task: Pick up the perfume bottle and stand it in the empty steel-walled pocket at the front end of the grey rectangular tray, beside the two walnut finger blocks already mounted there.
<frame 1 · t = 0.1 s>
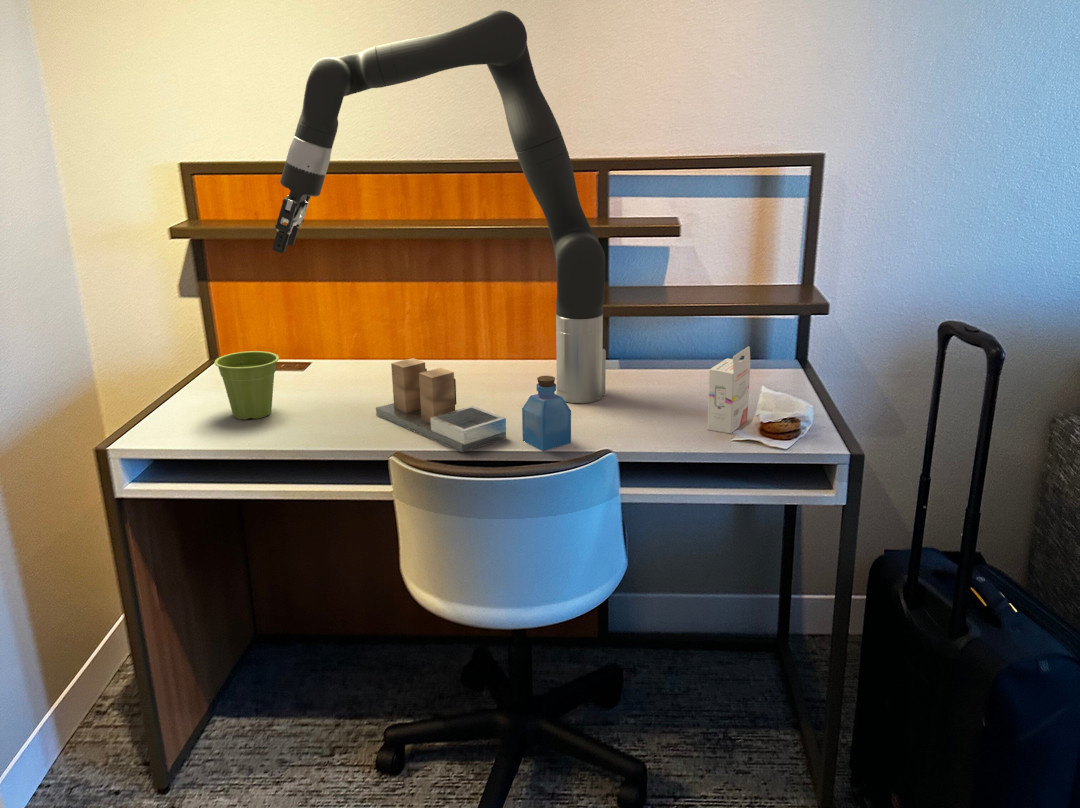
hand: (283, 247, 181), 31 cm above the table, tool tilted 20°, fingers open, 8 cm apart
plant pot: (253, 415, 186), on the table
walnut finger front: (438, 418, 177), resting on grey rectangular tray
ink cartridge box: (726, 426, 177), on the table
grey rectangular tray: (439, 426, 178), on the table
walnut finger rear: (410, 407, 184), resting on grey rectangular tray
perfume bottle: (546, 443, 170), on the table
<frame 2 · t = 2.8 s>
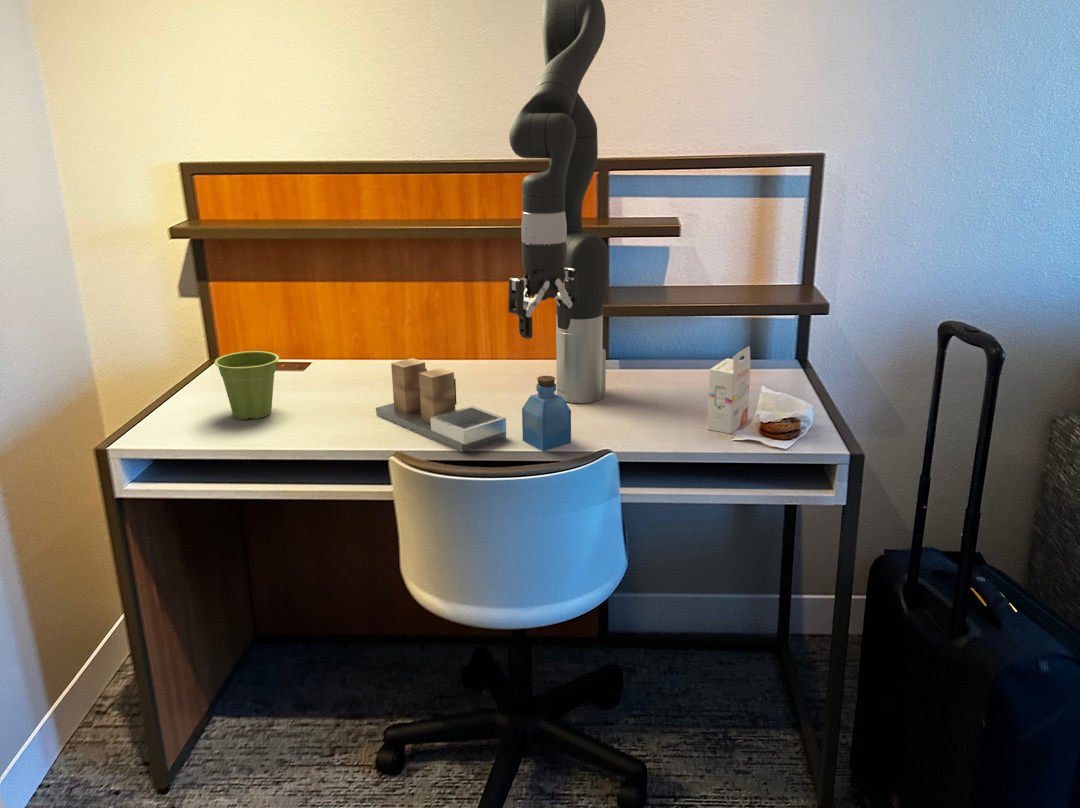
hand: (545, 333, 163), 20 cm above the table, tool pointing down, fingers open, 8 cm apart
nothing on the table moved.
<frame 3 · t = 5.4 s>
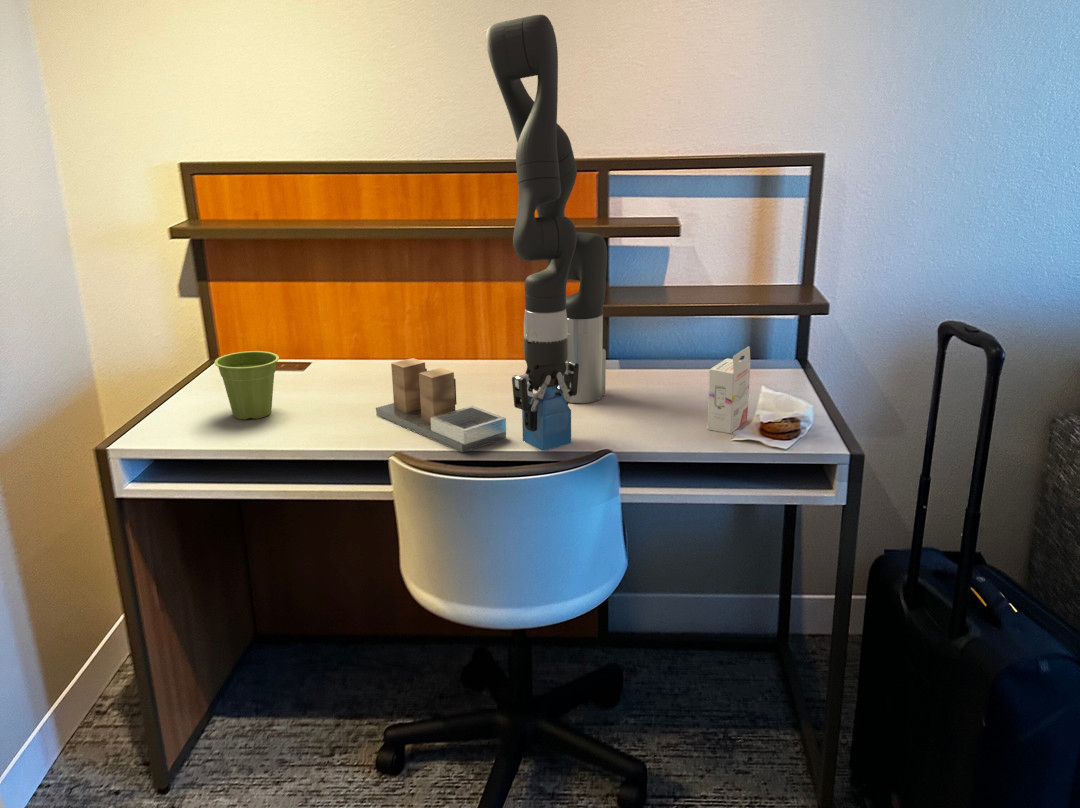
hand: (546, 425, 169), 3 cm above the table, tool pointing down, fingers closed on perfume bottle, 6 cm apart
perfume bottle: (546, 443, 170), on the table, touching gripper
everything else where it was.
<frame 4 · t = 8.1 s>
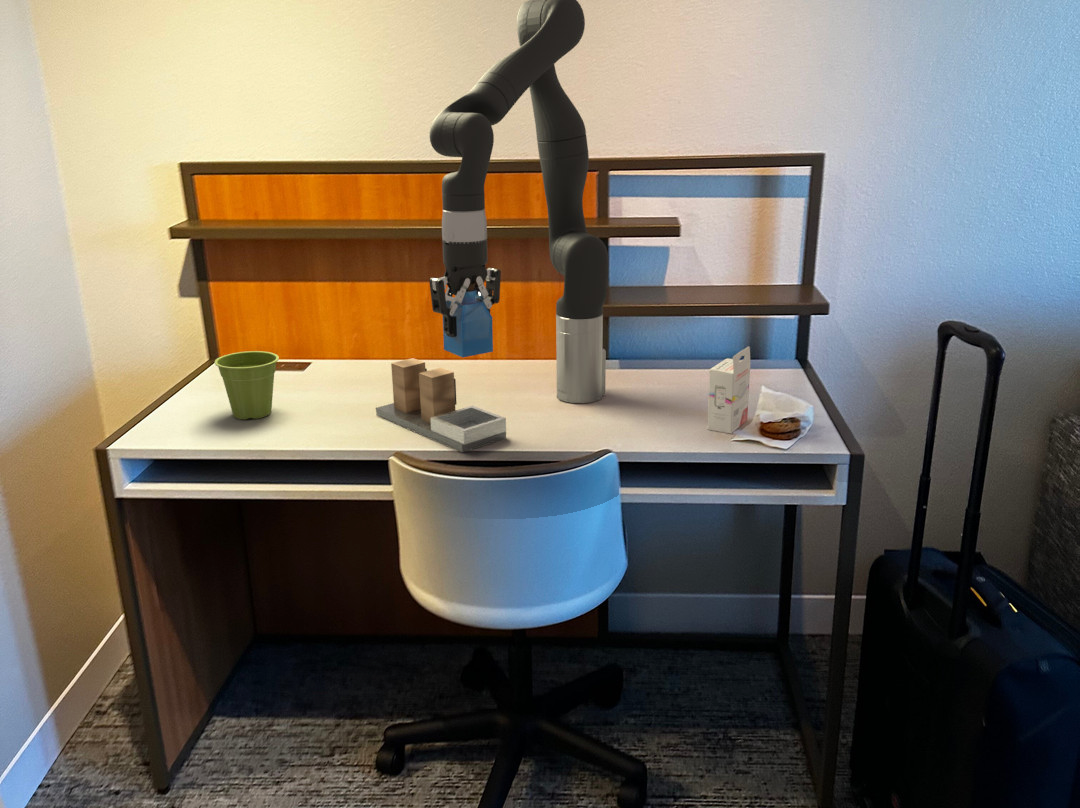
hand: (467, 332, 165), 20 cm above the table, tool pointing down, fingers closed on perfume bottle, 6 cm apart
perfume bottle: (468, 351, 166), point 16 cm above the table, touching gripper
everything else where it was.
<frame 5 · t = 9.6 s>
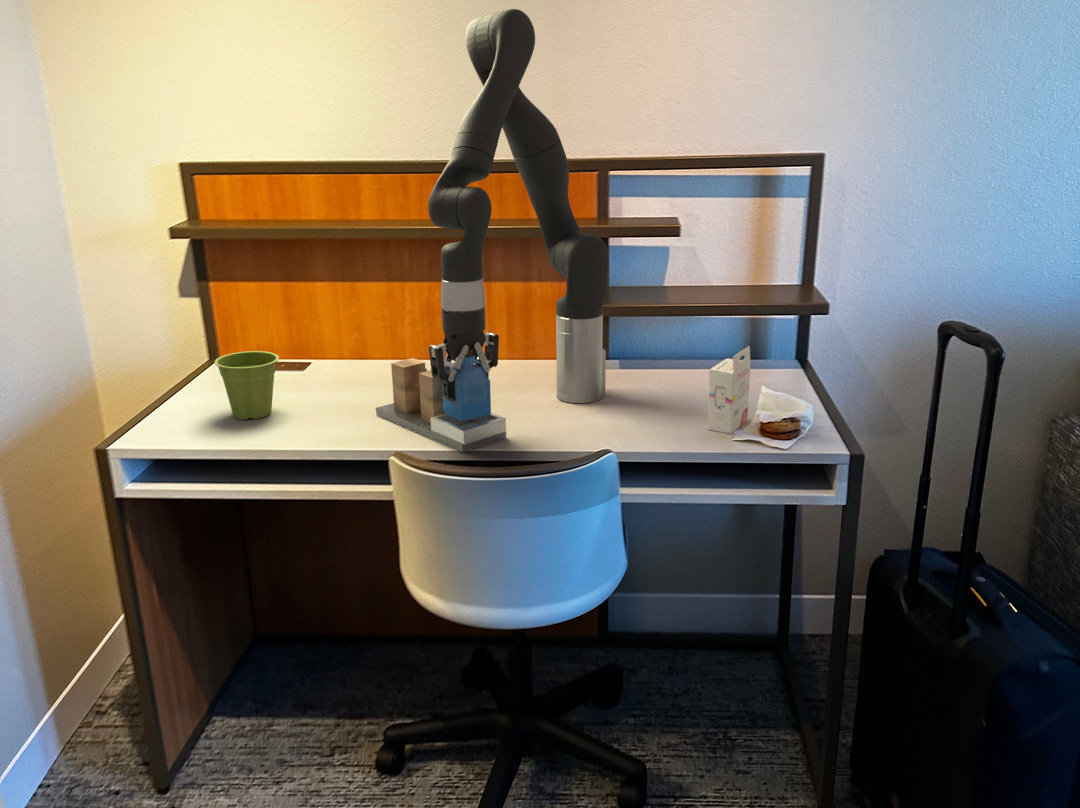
hand: (466, 395, 169), 8 cm above the table, tool pointing down, fingers closed on perfume bottle, 6 cm apart
perfume bottle: (467, 414, 170), point 5 cm above the table, touching gripper
everything else where it was.
when the fingers open (6 cm above the table, at t = 10.9 s): perfume bottle drops 1 cm, resting on grey rectangular tray.
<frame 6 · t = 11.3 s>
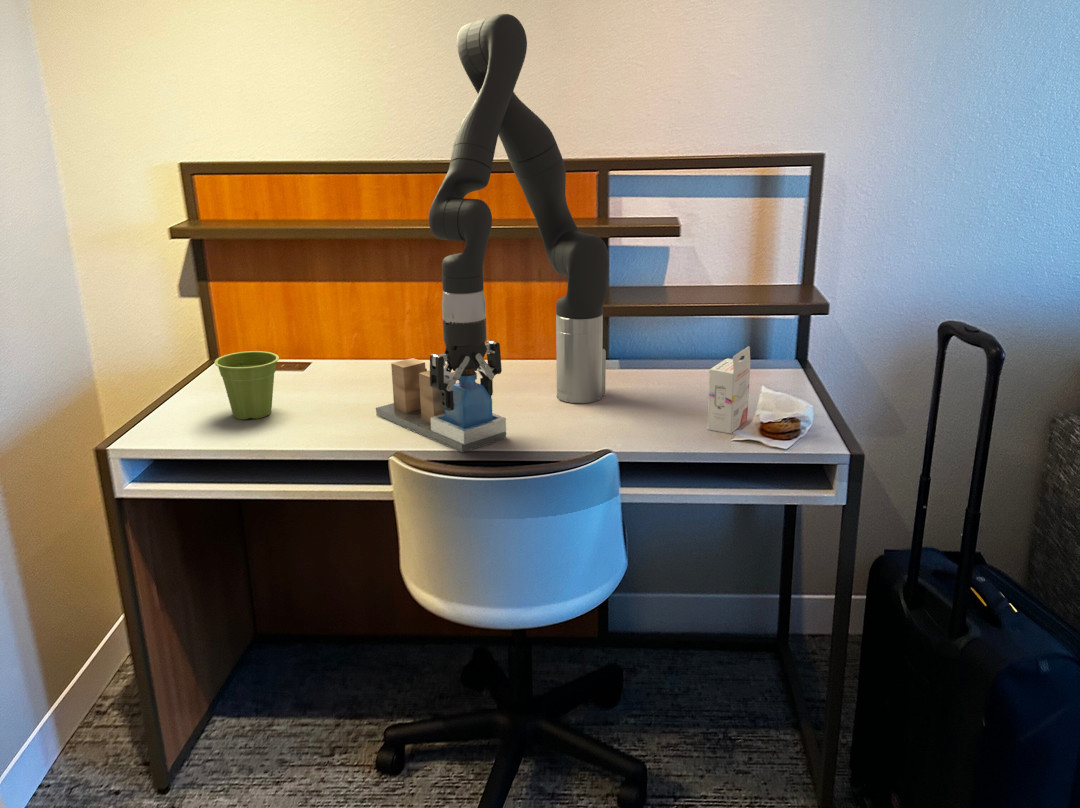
hand: (467, 404, 169), 7 cm above the table, tool pointing down, fingers open, 8 cm apart
perfume bottle: (469, 431, 171), point 1 cm above the table, touching grey rectangular tray
everything else where it was.
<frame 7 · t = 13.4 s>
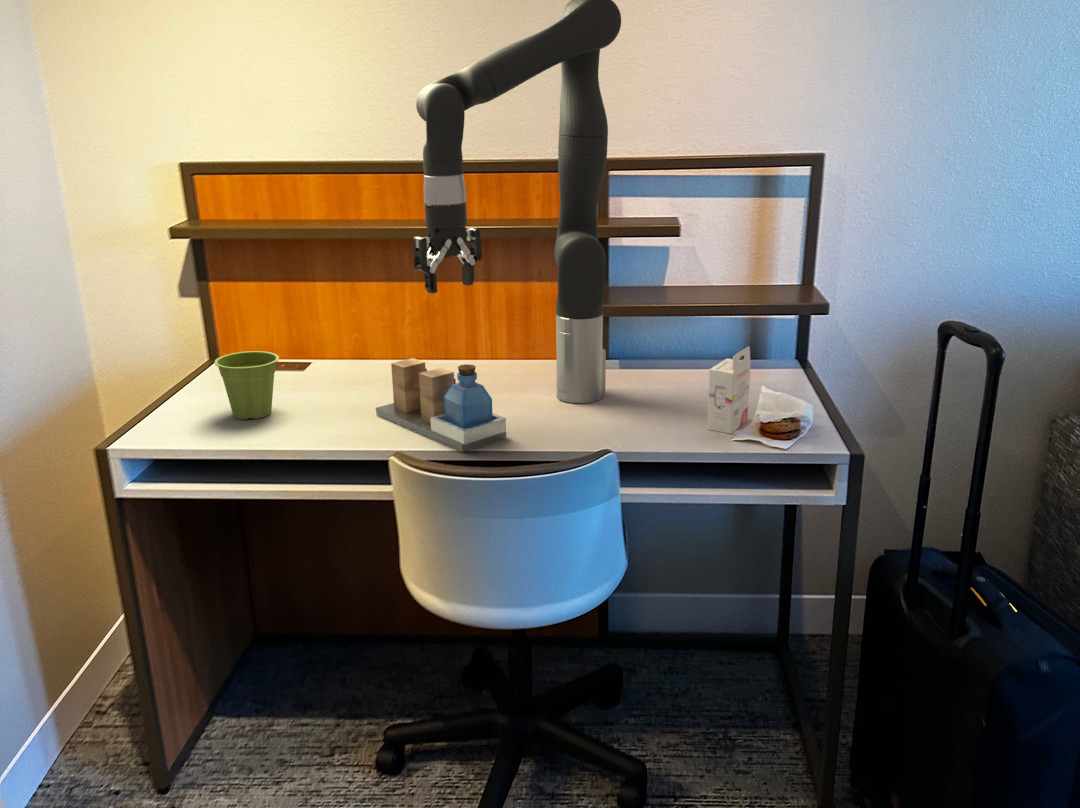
hand: (450, 288, 176), 25 cm above the table, tool pointing down, fingers open, 8 cm apart
nothing on the table moved.
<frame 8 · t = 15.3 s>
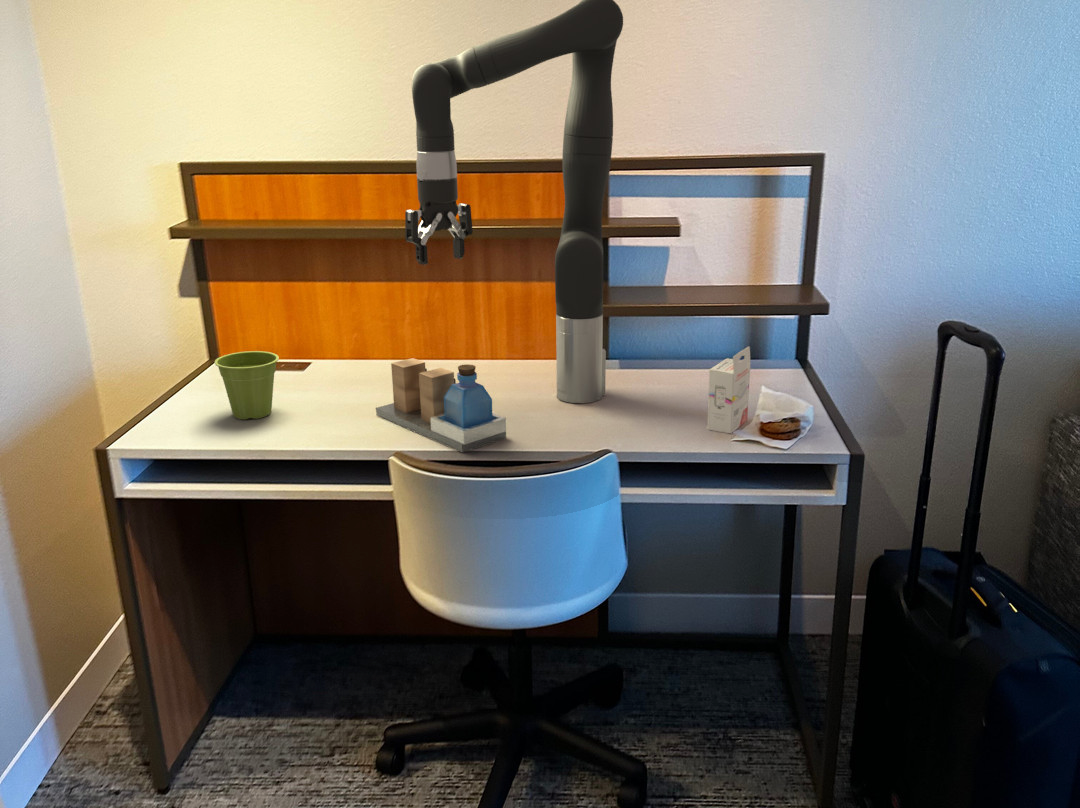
hand: (440, 261, 184), 28 cm above the table, tool pointing down, fingers open, 8 cm apart
nothing on the table moved.
at the end: perfume bottle 0.1 cm from the target spot on the grey rectangular tray, point 1.3 cm above the grey rectangular tray's base; perfume bottle tilted 0°; the gripper is holding nothing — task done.
